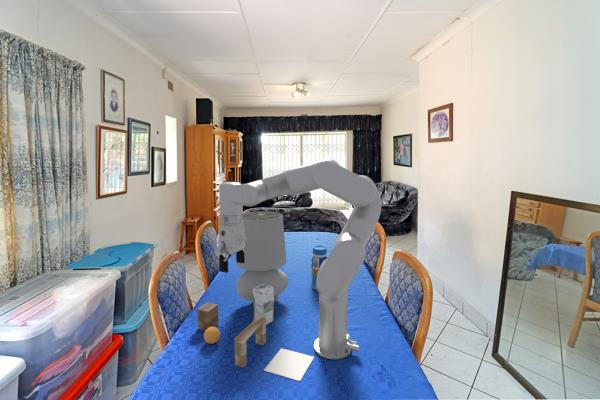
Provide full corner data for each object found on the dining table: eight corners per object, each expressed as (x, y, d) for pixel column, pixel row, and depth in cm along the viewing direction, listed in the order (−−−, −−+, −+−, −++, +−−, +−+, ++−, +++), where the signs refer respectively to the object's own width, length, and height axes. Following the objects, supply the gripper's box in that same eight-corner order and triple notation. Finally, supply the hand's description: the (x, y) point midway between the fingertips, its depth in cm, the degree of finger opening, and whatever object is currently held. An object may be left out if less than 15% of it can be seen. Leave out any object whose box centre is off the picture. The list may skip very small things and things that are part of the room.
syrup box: (263, 316, 131) (263, 282, 129) (274, 321, 128) (273, 286, 125) (253, 322, 127) (252, 287, 125) (263, 327, 123) (263, 291, 121)
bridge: (266, 342, 114) (265, 318, 112) (243, 367, 100) (242, 340, 99) (258, 340, 115) (258, 316, 113) (235, 365, 102) (234, 338, 100)
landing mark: (314, 357, 105) (314, 356, 105) (299, 381, 94) (299, 380, 94) (281, 348, 110) (281, 348, 110) (263, 370, 99) (263, 370, 99)
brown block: (218, 323, 126) (217, 304, 125) (208, 331, 120) (207, 311, 119) (208, 321, 128) (207, 302, 127) (198, 328, 122) (197, 309, 121)
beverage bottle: (308, 284, 163) (308, 245, 160) (324, 282, 165) (324, 244, 162) (314, 291, 155) (314, 250, 152) (330, 288, 157) (331, 249, 154)
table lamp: (282, 289, 157) (281, 208, 151) (295, 310, 137) (295, 217, 130) (234, 296, 150) (231, 211, 144) (240, 319, 129) (237, 221, 123)
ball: (223, 339, 115) (222, 325, 114) (213, 348, 110) (213, 333, 109) (211, 336, 117) (210, 322, 117) (200, 344, 112) (200, 330, 112)
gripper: (225, 225, 100) (226, 277, 103) (254, 215, 116) (254, 260, 119) (205, 222, 103) (207, 274, 106) (236, 213, 119) (237, 258, 121)
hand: (232, 267), depth 112 cm, fingers open, 9 cm apart
